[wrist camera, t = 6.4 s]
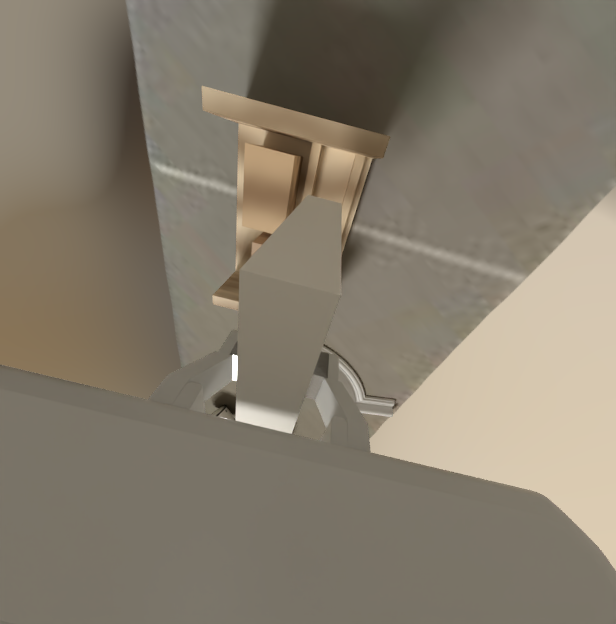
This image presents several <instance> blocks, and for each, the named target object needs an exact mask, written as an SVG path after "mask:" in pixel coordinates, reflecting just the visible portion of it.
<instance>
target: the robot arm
mask: <svg viewBox="0 0 616 624" xmlns="http://www.w3.org/2000/svg"><path fill="white" fill-rule="evenodd" d="M237 345H238V331H237V330H232V331H231V333H230V334H229V336H228V337H227V339H226V340H225V342H224V343H223V345H222V347H221V348H220V350H219V351H218V352H217V351H215V352H213V353H211V354H209V355H207V356H205V357H203V358H201V359H199V360H197V361H195V362H193V363H191V364H189V365H187V366H185V367H183V368H181V369H179V370H177V371H175V372H173V373H171V374H169V375H167V376H166V378H165V379H164V380H163V382H162V383H161V384H160V385H159V387H158V388H157V389H156V390H155V391H154V393H153V394H152V395H151V396H150V398H149V399H148V400H147V399H143V398H138V397H134V396H130V395H126V394H121V393H117V392H113V391H109V390H105V389H101V388H96V387H92V386H88V385H84V384H79V383H76V382H71V381H67V380H63V379H59V378H54V377H50V376H46V375H42V374H38V373H34V372H29V371H25V370H21V369H17V368H12V367H8V366H4V365H0V624H616V571H615V569H614V568H613V567H612V565H611V564H610V562H609V561H608V559H607V558H606V556H605V555H604V554H603V553H602V551H601V550H600V549H599V547H598V546H597V545H596V544H595V543H594V542H593V541H592V540H591V539H590V538H589V537H588V536H587V535H586V534H585V533H584V532H583V531H582V530H581V529H580V528H579V527H578V526H577V525H576V524H575V523H574V522H573V521H572V520H571V519H570V518H569V517H568V516H567V515H566V514H565V513H564V512H562V510H560V509H559V508H558V507H557V506H556V505H555V504H554V503H553V502H551V501H550V500H549V499H548V498H547V497H545V496H544V495H542V494H540V493H537V492H534V491H530V490H526V489H522V488H518V487H514V486H510V485H505V484H501V483H497V482H492V481H488V480H484V479H480V478H475V477H472V476H467V475H463V474H459V473H454V472H450V471H446V470H442V469H437V468H434V467H429V466H425V465H421V464H417V463H413V462H408V461H404V460H400V459H395V458H391V457H387V456H383V455H379V454H375V453H370V442H369V432H368V423H367V422H366V420H365V418H364V417H363V415H362V414H361V412H360V411H359V409H358V407H357V406H356V404H355V403H354V401H353V399H352V398H351V396H350V395H349V393H348V392H347V390H346V388H345V387H344V385H343V384H342V382H340V381H339V356H338V355H335V354H331V353H327V352H322V351H321V353H320V356H319V359H318V361H317V364H316V367H315V370H314V373H313V375H312V378H311V381H310V384H309V387H308V389H307V392H306V395H305V397H307V398H311V399H315V401H316V404H317V406H318V409H319V411H320V414H321V416H322V419H323V421H324V424H325V426H326V430H325V432H324V433H323V435H322V437H321V439H320V440H316V439H311V438H307V437H303V436H299V435H295V434H290V433H286V432H282V431H278V430H273V429H269V428H265V427H261V426H257V425H252V424H248V423H244V422H240V421H235V420H231V419H227V418H223V417H218V416H214V415H210V414H206V412H205V404H204V402H205V401H206V400H207V399H209V398H210V397H211V396H213V395H214V394H215V393H217V392H218V391H219V390H221V389H222V388H223V387H225V386H226V385H227V384H228V383H230V382H231V381H232V380H236V381H237Z"/></svg>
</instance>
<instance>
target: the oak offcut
mask: <svg viewBox="0 0 616 624" xmlns="http://www.w3.org/2000/svg"><path fill="white" fill-rule="evenodd" d="M302 162H303V156H299V155H295V154H292V153H288V152H284V151H280V150H276V149H273V148H269V147H265V146H261V145H255V144H250V143H245V154H244V183H243V213H242V226H244V227H247V228H251V229H255V230H259V231H263V232H267V233H271V234H273V233H274V231H275V230H276V229H277V228H278V227H279V226H280V225H281V224H282V223H283V222H284V220H285V219H286V218H287V217H288V216H289V215H290V214H291V213H292V212H293V211H294V210H295V205H296V199H297V193H298V187H299V180H300V174H301V168H302Z"/></svg>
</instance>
